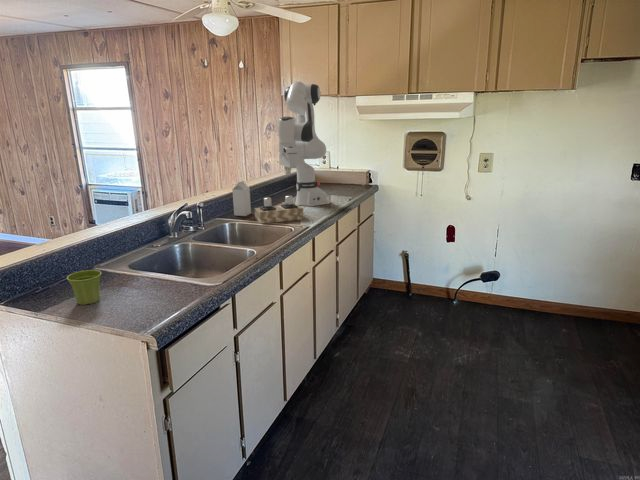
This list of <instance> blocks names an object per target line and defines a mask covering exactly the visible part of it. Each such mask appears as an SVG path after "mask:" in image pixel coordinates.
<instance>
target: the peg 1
mask: <svg viewBox="0 0 640 480" xmlns="http://www.w3.org/2000/svg"><path fill="white" fill-rule="evenodd" d="M263 205H264V208H265V209H266V208H272V206H273V204H272V198H271V197H270V196H269V197H263Z"/></svg>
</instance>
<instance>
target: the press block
mask: <svg viewBox="0 0 640 480" xmlns="http://www.w3.org/2000/svg"><path fill="white" fill-rule="evenodd" d="M253 208H254V210H253V211H254V219H255V221H257V222H258V223H259V224H269V223H278V222H289V221H298V220H304V219H305V218H304V216H305V215H304V208H303V207H302V206H301V205H297V204H295V203H293V206H287V207H286V204H280V205H272V208H266V209H265V208H264V206H259V207H253Z"/></svg>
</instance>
